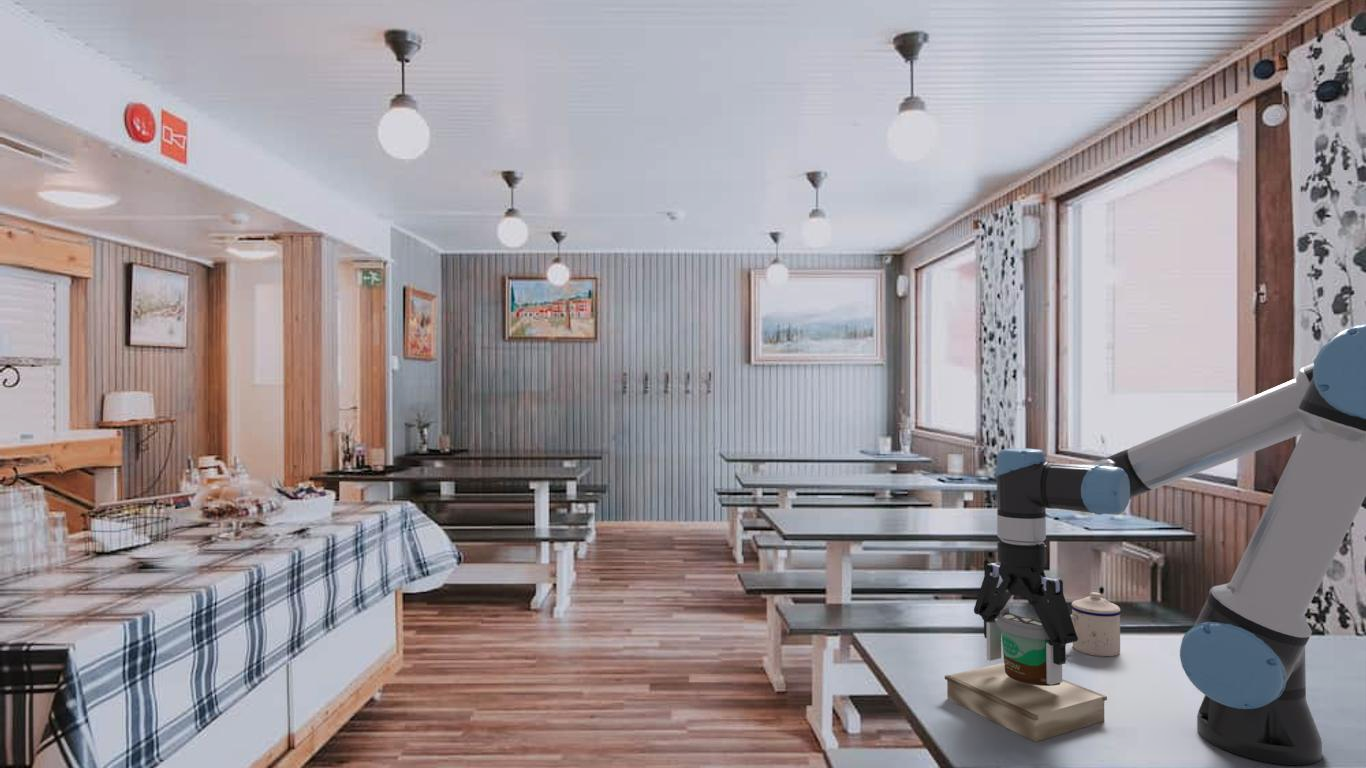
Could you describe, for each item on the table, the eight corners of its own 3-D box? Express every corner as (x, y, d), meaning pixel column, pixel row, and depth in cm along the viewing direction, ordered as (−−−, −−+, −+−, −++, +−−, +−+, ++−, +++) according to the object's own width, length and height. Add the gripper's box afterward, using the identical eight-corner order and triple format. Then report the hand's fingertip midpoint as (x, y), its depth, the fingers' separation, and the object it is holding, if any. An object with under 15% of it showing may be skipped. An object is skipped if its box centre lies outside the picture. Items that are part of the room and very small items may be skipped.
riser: (1107, 721, 122) (1106, 696, 122) (1034, 742, 115) (1034, 716, 115) (1013, 681, 139) (1013, 659, 139) (944, 698, 132) (944, 675, 132)
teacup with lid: (1102, 641, 160) (1102, 586, 160) (1131, 656, 151) (1131, 598, 151) (1049, 643, 159) (1048, 588, 159) (1075, 659, 150) (1074, 600, 150)
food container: (980, 668, 131) (980, 611, 131) (1006, 663, 134) (1005, 606, 134) (1041, 694, 120) (1040, 631, 120) (1067, 687, 123) (1067, 625, 123)
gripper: (1101, 551, 118) (1103, 691, 118) (982, 527, 140) (983, 645, 139) (1069, 556, 115) (1071, 700, 115) (951, 530, 136) (953, 651, 136)
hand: (1023, 670), depth 127 cm, fingers closed on food container, 11 cm apart
